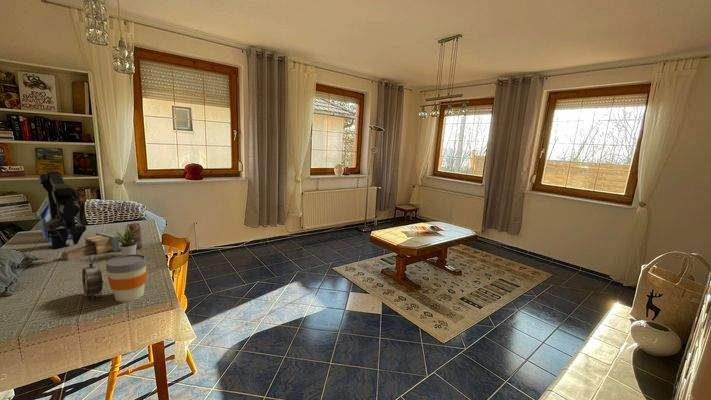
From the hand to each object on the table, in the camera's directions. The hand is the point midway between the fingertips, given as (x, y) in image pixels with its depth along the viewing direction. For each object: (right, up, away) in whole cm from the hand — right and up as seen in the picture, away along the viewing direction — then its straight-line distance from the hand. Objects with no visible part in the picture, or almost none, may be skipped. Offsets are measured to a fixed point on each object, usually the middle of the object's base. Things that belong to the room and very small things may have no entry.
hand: (70, 243), depth 146 cm
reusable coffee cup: (+54, -16, -31) cm, 64 cm away
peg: (+1, -7, +6) cm, 10 cm away
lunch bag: (-37, -1, +31) cm, 48 cm away
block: (+4, -6, +12) cm, 14 cm away
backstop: (+5, -5, +16) cm, 18 cm away
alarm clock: (+41, -16, -33) cm, 55 cm away
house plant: (+25, -8, +7) cm, 28 cm away
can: (+19, -6, +18) cm, 27 cm away
